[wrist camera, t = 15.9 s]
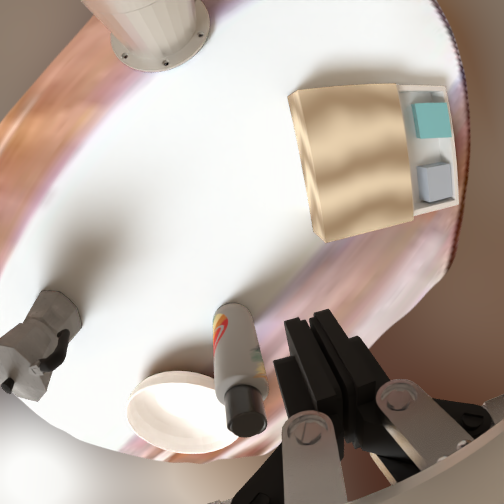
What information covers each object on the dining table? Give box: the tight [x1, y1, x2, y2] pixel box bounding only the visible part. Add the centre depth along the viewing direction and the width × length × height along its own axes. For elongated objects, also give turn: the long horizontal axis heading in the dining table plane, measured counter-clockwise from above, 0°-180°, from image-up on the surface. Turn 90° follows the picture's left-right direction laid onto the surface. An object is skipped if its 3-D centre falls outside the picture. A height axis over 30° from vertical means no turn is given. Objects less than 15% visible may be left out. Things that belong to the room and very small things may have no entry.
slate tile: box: [416, 162, 452, 202], centre depth 38 cm, size 5×5×2 cm
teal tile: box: [411, 103, 452, 139], centre depth 34 cm, size 5×5×2 cm
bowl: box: [125, 371, 239, 454], centre depth 45 cm, size 20×20×6 cm
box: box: [396, 85, 459, 216], centre depth 36 cm, size 18×10×4 cm, turn 12°
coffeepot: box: [0, 291, 82, 402], centre depth 32 cm, size 15×9×18 cm, turn 110°
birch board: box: [287, 83, 414, 243], centre depth 35 cm, size 18×13×5 cm
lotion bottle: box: [213, 303, 269, 437], centre depth 34 cm, size 6×6×20 cm
